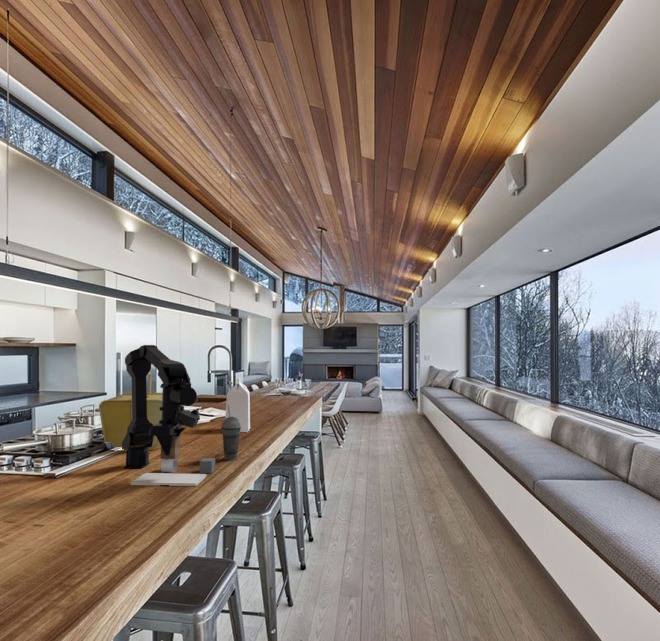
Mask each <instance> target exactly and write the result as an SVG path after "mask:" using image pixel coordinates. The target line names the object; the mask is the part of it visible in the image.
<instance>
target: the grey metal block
mask: <svg viewBox="0 0 660 641" xmlns="http://www.w3.org/2000/svg"><path fill="white" fill-rule="evenodd" d="M178 458H179V457H177V458H176V459H160V460H161V461H160V462H161V464H160V465H161V466H160V473H164V472H173V473H174V472H176V471H177V470H178Z"/></svg>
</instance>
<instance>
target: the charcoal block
mask: <svg viewBox="0 0 660 641" xmlns="http://www.w3.org/2000/svg"><path fill="white" fill-rule="evenodd" d="M215 471H216V458H215V457H203V458H202V459H201V460H199V474H212V473H214V472H215Z"/></svg>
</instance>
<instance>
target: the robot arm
mask: <svg viewBox="0 0 660 641" xmlns="http://www.w3.org/2000/svg"><path fill="white" fill-rule="evenodd" d="M124 364H125V367H126V369H125V370H126V372H127V373H128V374H129V376H130V378H131V393H132V421H131V422H130V424H129V426H128V428H127V434H126V436H125V438H124V440H123V442H122V449H124V450H126V451H125V465H124V466H122V467H123V468H124V469H142V468H144V467H146V466H148V465H149V464H150V460H149V459H150V452H149V450H148V447H152V443H153V438H154V435H155V436H156V437H157V439H158V441H159V443H160V444H159V446H160V448H161V447H162V449H163V451H164V453H165V455H169V454H170V448H171V442H172V438H173V437H174V436H181V434H182V433H183V432H184V431H185V430H186V429H187V427H188V428H191V429H193V428H194V427H197V426H198V425H197V424H198V422H199V421H200V419H201V418H200V417H201V415H200V413H199V410H197V409H193V410H190V411H189V410H188V411H187V410H185V407H190V406H192V405H194V404H195V403H196V401H197V398H198V394H197V391H196V390H195V388H194V387H192V382H191V377H190V375H189V373H188V371H187V368H186V366H185V364H184V363H182V362H181V361H178V360H173V359H170V358H169V357H168V356H167V355H166V354H165V353H163V352H162V351H161V349H159V348H158V346H157V345H154V344H142V345H140V347H138V348H135V349H134V350H130V351H129V353H128V354H126V356H125V358H124ZM152 366H153V367H155V369H156V370H157V376H158V377H159V379H160V381H161V382H162V383H161V384H160V388H161V389H162V392H161V393H162V407H160V410H162V420H159V424H155V425H153V424H152V423H150V422H149V420H148V419H147V393H148V386H147V385H148V384H147V378H148V376H149V375H148V373H149V372H150V371H151V370H152ZM150 373H151V372H150ZM147 375H148V376H147ZM146 377H147V378H146ZM183 425H185V427H183ZM130 445H131V446H130Z"/></svg>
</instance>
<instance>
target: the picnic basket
mask: <svg viewBox="0 0 660 641" xmlns="http://www.w3.org/2000/svg"><path fill="white" fill-rule="evenodd" d="M147 378H148V382H147V385H148V386H147V419H148V420H149V422H150V423H152V424H153V425H155V424H159V420H162V410H160V407H162V393H163V392H152V373H151V372H149V373H148V375H147V377H146V379H147ZM98 412H99V416H100V418H99V419H100V423H101V430H102V435H103V440H104V443H105V442H112V444H113V446H115V447H122V442H123V440H124V438H125V436H126V434H127V428H128V426H129V424H130V422H131V421H132V392H124V393H122V394H120V395H117V396H115V397H111V398H108V399H106V400H105V399H104V400H103V401H100V403H99V405H98ZM130 446H131V445H130ZM159 446H160V443H159V441H158V439H157V437H156V436H155V435H154V438H153V443H152V447H148V451H153V450H155V449H157V448H158V447H159Z"/></svg>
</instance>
